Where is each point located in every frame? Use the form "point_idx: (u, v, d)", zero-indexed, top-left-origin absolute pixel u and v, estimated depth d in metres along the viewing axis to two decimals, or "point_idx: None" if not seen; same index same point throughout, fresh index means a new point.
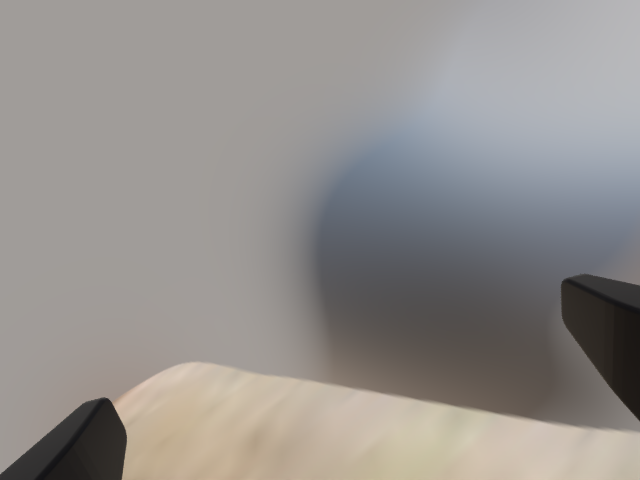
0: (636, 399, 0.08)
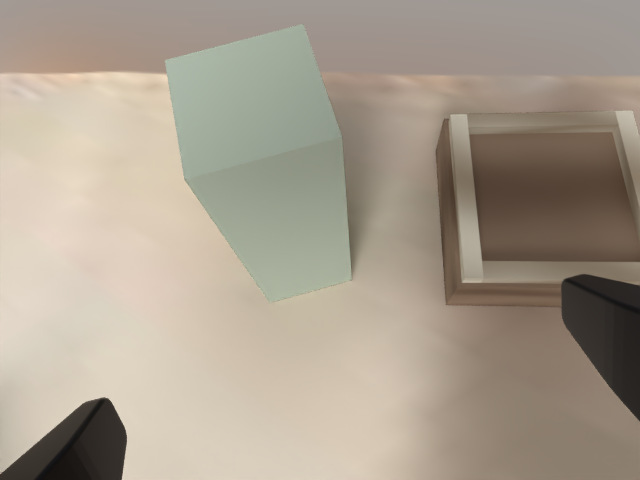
0: (636, 399, 0.08)
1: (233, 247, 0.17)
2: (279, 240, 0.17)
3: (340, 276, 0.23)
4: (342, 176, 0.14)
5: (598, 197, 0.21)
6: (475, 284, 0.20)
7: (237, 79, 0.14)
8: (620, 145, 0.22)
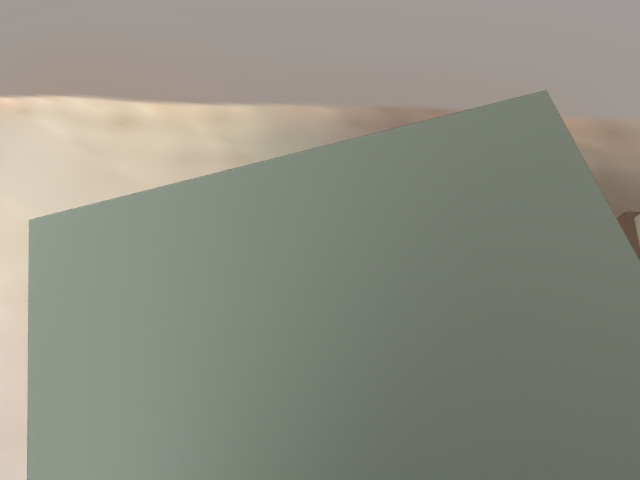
0: None
1: None
2: None
3: None
4: None
5: None
6: None
7: (309, 334, 0.03)
8: None
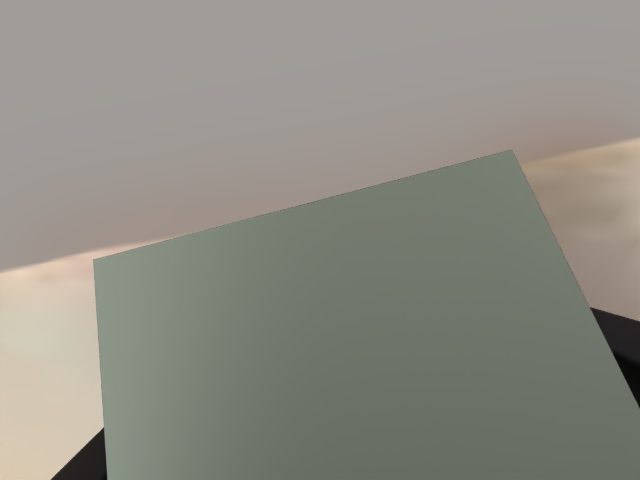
0: None
1: None
2: None
3: None
4: None
5: None
6: None
7: (324, 352, 0.04)
8: None
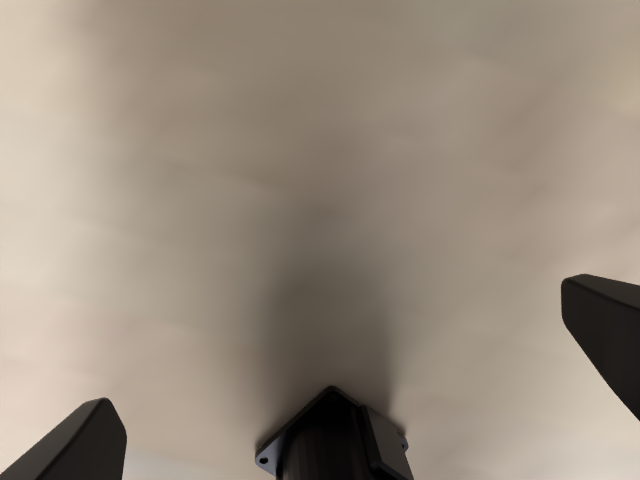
0: (636, 399, 0.08)
1: None
2: None
3: None
4: None
5: None
6: None
7: None
8: None
